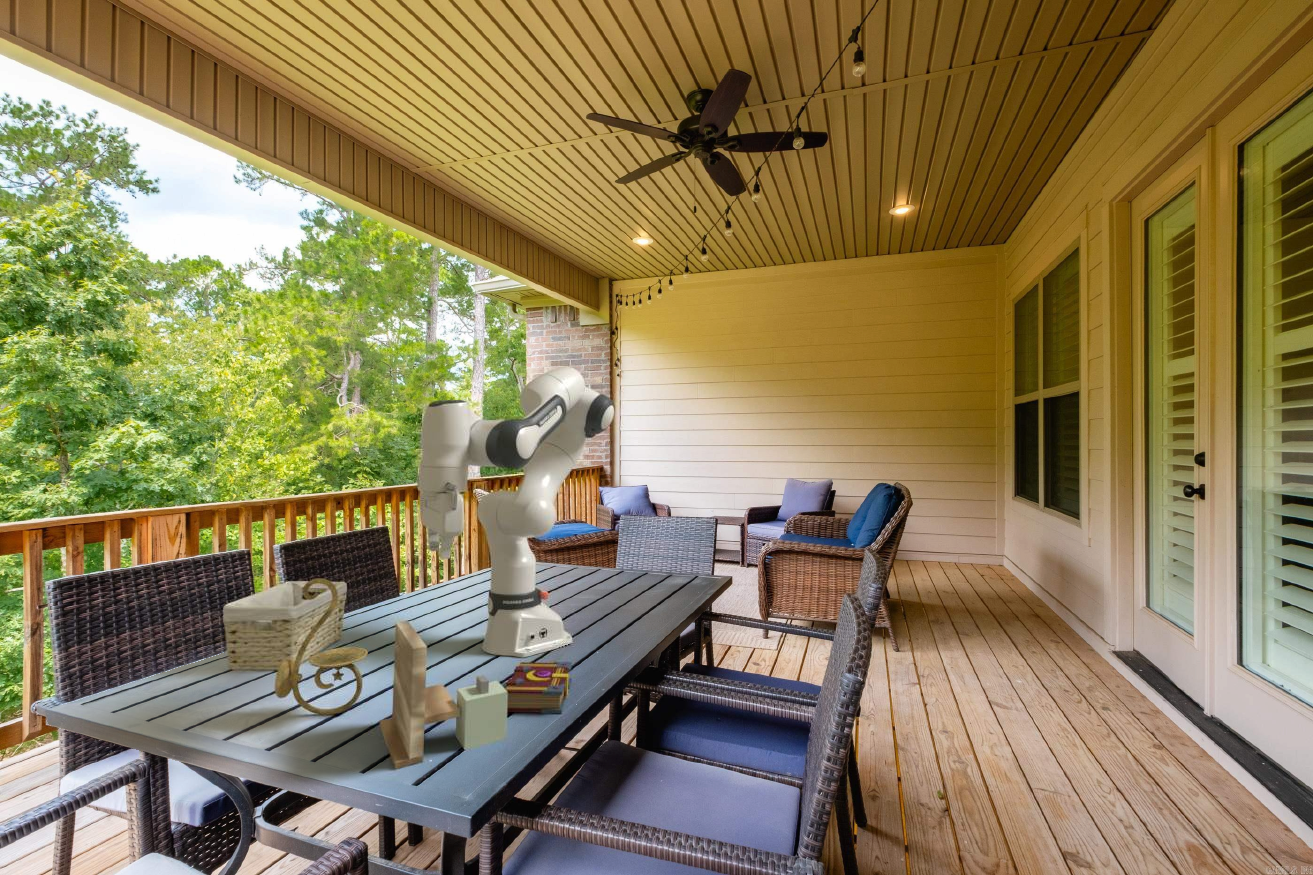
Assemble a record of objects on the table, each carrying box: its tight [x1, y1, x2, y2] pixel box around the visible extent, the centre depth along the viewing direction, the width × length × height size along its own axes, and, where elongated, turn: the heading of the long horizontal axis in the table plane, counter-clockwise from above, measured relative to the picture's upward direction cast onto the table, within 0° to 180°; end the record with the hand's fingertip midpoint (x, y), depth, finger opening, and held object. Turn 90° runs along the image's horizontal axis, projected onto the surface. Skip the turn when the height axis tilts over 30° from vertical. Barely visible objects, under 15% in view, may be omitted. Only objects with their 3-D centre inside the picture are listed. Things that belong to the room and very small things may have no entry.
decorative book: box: [504, 661, 573, 714], centre depth 113 cm, size 11×16×5 cm
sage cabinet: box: [455, 674, 508, 751], centre depth 97 cm, size 8×6×10 cm
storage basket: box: [222, 580, 348, 671], centre depth 133 cm, size 24×16×15 cm
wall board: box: [379, 620, 460, 770], centre depth 96 cm, size 10×16×18 cm, turn 34°
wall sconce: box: [274, 577, 368, 716], centre depth 103 cm, size 14×10×25 cm
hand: (439, 554), depth 107 cm, fingers open, 8 cm apart
